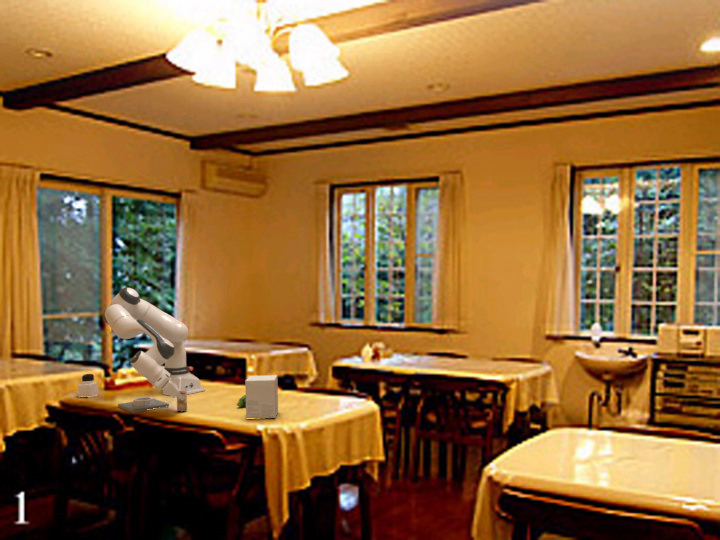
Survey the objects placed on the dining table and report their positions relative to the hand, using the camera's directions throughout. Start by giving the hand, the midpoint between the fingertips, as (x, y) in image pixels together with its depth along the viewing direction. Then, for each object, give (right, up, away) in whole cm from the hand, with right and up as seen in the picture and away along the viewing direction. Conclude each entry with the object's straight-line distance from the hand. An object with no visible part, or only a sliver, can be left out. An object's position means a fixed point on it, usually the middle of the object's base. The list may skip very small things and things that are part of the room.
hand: (183, 398), depth 299 cm
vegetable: (+30, -6, +13) cm, 33 cm away
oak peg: (-1, -6, 0) cm, 6 cm away
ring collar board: (-23, -7, +11) cm, 26 cm away
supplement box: (+39, -6, -12) cm, 41 cm away
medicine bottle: (-61, -7, +38) cm, 73 cm away
